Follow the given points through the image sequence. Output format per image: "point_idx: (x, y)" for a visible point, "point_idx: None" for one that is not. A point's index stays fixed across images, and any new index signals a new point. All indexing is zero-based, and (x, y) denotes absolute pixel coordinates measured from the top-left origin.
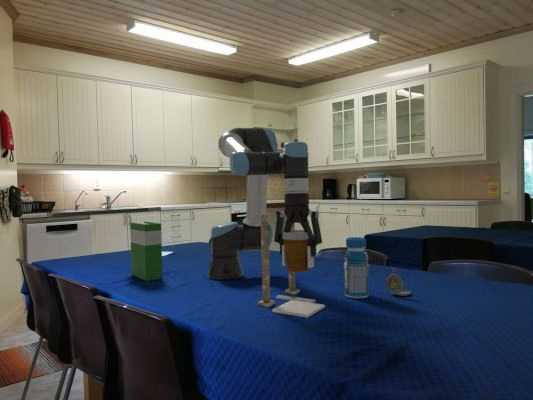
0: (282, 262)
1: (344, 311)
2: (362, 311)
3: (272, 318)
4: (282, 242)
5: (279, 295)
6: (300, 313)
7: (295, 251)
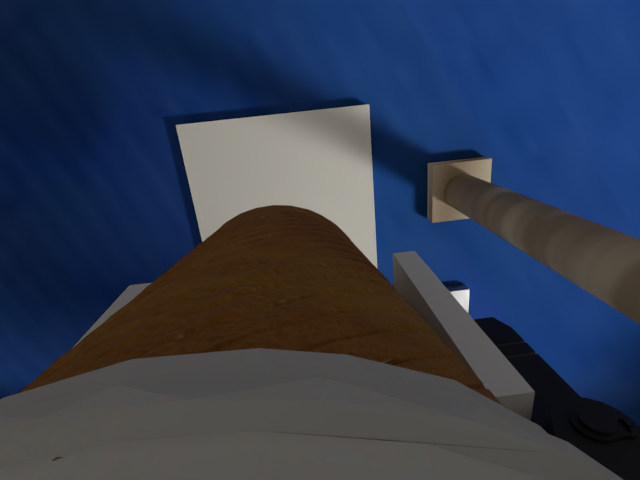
0: (423, 262)
1: (117, 288)
2: (63, 326)
3: (305, 13)
4: (559, 436)
5: (462, 306)
6: (216, 125)
7: (175, 275)
